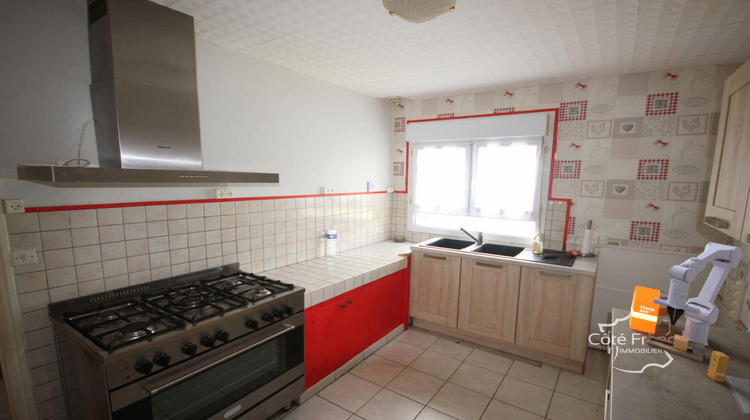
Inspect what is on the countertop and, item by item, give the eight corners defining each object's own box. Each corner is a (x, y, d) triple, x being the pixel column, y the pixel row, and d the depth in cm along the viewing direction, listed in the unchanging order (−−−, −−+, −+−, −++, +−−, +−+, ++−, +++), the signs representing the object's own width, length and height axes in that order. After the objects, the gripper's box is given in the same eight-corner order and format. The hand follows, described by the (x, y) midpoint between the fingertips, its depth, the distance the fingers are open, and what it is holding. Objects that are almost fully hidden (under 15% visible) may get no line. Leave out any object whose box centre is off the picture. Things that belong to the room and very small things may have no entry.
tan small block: (673, 343, 137) (675, 334, 136) (686, 346, 134) (688, 337, 133) (673, 347, 133) (674, 338, 133) (686, 351, 131) (688, 342, 130)
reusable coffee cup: (627, 316, 163) (631, 288, 161) (643, 312, 167) (647, 285, 165) (655, 328, 151) (660, 298, 149) (672, 324, 156) (677, 295, 153)
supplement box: (724, 382, 114) (730, 357, 113) (713, 381, 115) (718, 355, 114) (717, 376, 118) (722, 351, 116) (706, 375, 118) (711, 350, 117)
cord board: (648, 337, 144) (649, 326, 143) (701, 353, 132) (704, 341, 131) (646, 344, 138) (648, 333, 137) (702, 362, 126) (704, 350, 125)
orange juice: (629, 321, 157) (635, 283, 154) (652, 327, 152) (659, 287, 149) (630, 328, 151) (636, 288, 148) (654, 334, 146) (661, 293, 143)
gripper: (654, 291, 137) (649, 321, 139) (702, 302, 127) (696, 334, 129) (655, 287, 142) (650, 315, 144) (702, 297, 132) (696, 327, 134)
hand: (672, 324), depth 137 cm, fingers closed
